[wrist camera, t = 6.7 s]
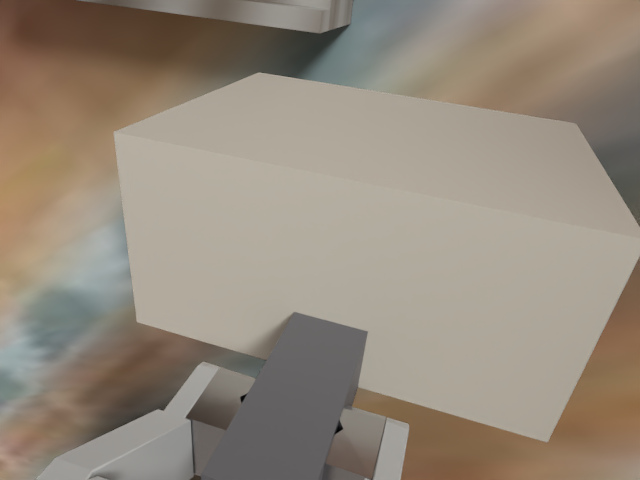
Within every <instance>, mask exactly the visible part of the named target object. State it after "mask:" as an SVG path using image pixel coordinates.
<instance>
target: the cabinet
mask: <svg viewBox="0 0 640 480" xmlns="http://www.w3.org/2000/svg"><path fill="white" fill-rule="evenodd" d="M114 140H115V148H116V156H117V164H118V172H119V181H120V189H121V197H122V205H123V213H124V221H125V229H126V237H127V245H128V254H129V262H130V270H131V278H132V286H133V294H134V302H135V310H136V318H137V322H138V323H141V324H145V325H148V326H151V327H155V328H158V329H162V330H165V331H169V332H172V333H175V334H179V335H182V336H186V337H189V338H192V339H196V340H199V341H203V342H206V343H209V344H213V345H216V346H220V347H223V348H226V349H230V350H233V351H237V352H240V353H244V354H247V355H250V356H254V357H257V358H261V359H264V360H267V361H266V362H265V364H264V366H263V367H262V369H261V371H260V373H259V374H258V376H257V378H256V380H255V381H254V383H253V385H252V387H251V388H250V390H249V392H248V394H247V395H246V397H245V399H244V400H243V402H242V404H241V406H240V407H239V409H238V411H237V413H236V414H235V416H234V418H233V420H232V421H231V423H230V425H229V426H228V428H227V430H226V432H225V433H224V435H223V437H222V439H221V440H220V442H219V444H218V446H217V447H216V449H215V451H214V453H213V454H212V456H211V458H210V459H209V461H208V463H207V465H206V466H205V468H204V470H203V472H202V473H201V480H322V476H323V469H324V463H325V460H326V457H327V454H328V451H329V448H330V445H331V442H332V439H333V436H334V435H335V434H337V429H338V423H339V418H340V415H341V412H342V409H343V407H344V405H347V406H351V407H352V404H353V401H354V398H355V394H356V391H357V388H358V387H359V388H363V389H366V390H370V391H373V392H376V393H380V394H383V395H387V396H390V397H394V398H397V399H400V400H404V401H407V402H411V403H414V404H417V405H421V406H424V407H428V408H431V409H434V410H438V411H441V412H445V413H448V414H452V415H455V416H458V417H462V418H465V419H469V420H472V421H475V422H479V423H482V424H486V425H489V426H492V427H496V428H499V429H503V430H506V431H509V432H513V433H516V434H520V435H523V436H527V437H530V438H533V439H537V440H540V441H544V442H547V443H548V441H549V439H550V437H551V434H552V432H553V430H554V428H555V426H556V424H557V422H558V420H559V418H560V416H561V414H562V412H563V410H564V408H565V406H566V404H567V402H568V400H569V398H570V396H571V394H572V392H573V390H574V388H575V386H576V384H577V382H578V380H579V378H580V376H581V374H582V372H583V370H584V368H585V366H586V364H587V362H588V360H589V358H590V356H591V354H592V352H593V350H594V348H595V346H596V344H597V342H598V340H599V338H600V336H601V334H602V332H603V329H604V327H605V325H606V323H607V321H608V319H609V317H610V315H611V313H612V311H613V309H614V307H615V305H616V303H617V301H618V299H619V297H620V295H621V293H622V291H623V289H624V287H625V285H626V283H627V281H628V279H629V277H630V275H631V273H632V271H633V269H634V267H635V265H636V263H637V261H638V259H639V257H640V226H639V225H638V223H637V222H636V220H635V218H634V217H633V215H632V214H631V212H630V210H629V209H628V207H627V205H626V204H625V202H624V201H623V199H622V197H621V196H620V194H619V192H618V191H617V189H616V188H615V186H614V184H613V183H612V181H611V179H610V178H609V176H608V175H607V173H606V171H605V170H604V168H603V166H602V165H601V163H600V162H599V160H598V158H597V157H596V155H595V153H594V152H593V150H592V149H591V147H590V145H589V144H588V142H587V140H586V139H585V137H584V136H583V134H582V132H581V131H580V129H579V128H578V126H577V124H576V123H571V122H565V121H558V120H552V119H546V118H540V117H533V116H527V115H521V114H515V113H509V112H502V111H496V110H490V109H484V108H477V107H471V106H465V105H459V104H453V103H446V102H440V101H434V100H428V99H421V98H415V97H409V96H403V95H397V94H390V93H384V92H378V91H372V90H365V89H359V88H353V87H347V86H341V85H334V84H328V83H322V82H316V81H310V80H303V79H297V78H291V77H285V76H278V75H272V74H266V73H260V72H258V73H256V74H253V75H251V76H249V77H246V78H244V79H241V80H239V81H236V82H234V83H232V84H229V85H227V86H224V87H222V88H219V89H217V90H214V91H212V92H210V93H207V94H205V95H202V96H200V97H197V98H195V99H193V100H190V101H188V102H185V103H183V104H180V105H178V106H176V107H173V108H171V109H168V110H166V111H163V112H161V113H159V114H156V115H154V116H151V117H149V118H146V119H144V120H142V121H139V122H137V123H134V124H132V125H129V126H127V127H125V128H122V129H120V130H117V131H115V132H114Z"/></svg>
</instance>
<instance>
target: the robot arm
mask: <svg viewBox="0 0 640 480" xmlns="http://www.w3.org/2000/svg"><path fill="white" fill-rule="evenodd" d="M255 380H256V378H253V377H250V376H247V375H244V374H241V373H238V372H235V371H232V370H229V369H226V368H223V367H219V366H216V365H213V364H210V363H207V362H204V361H203V362H202V363H200V364H199V365H198V366H197V367H196V368H195V369H194V371H193V372H192V373H191V375H190V376H189V377H188V379H187V380H186V381H185V383H184V384H183V385H182V387H181V388H180V389H179V391H178V392H177V393H176V395H175V396H174V397H173V399H172V400H171V401H170V402H169V404H168V405H167V406H166V408H165V409H164V410H163V411H162V410H159V409H157V410H155V411H153V412H150V413H148V414H146V415H144V416H142V417H140V418H138V419H136V420H134V421H132V422H129V423H127V424H125V425H123V426H121V427H119V428H117V429H115V430H113V431H110V432H108V433H106V434H104V435H102V436H100V437H98V438H96V439H94V440H91V441H89V442H87V443H85V444H83V445H81V446H79V447H77V448H75V449H72V450H70V451H68V452H66V453H64V454H62V455H60V456H58V457H56V458H55V459H54V460H53V461H52V462H51V463H50V464H49V465H48V466H47V467H46V468H45V470H44V471H43V472H42V473H41V474H40V475H39V476H38V477H37V478H36V479H35V480H190V479H191V478H193V477H194V474H195V475H198V476H201V473H202V472H203V470H204V468H205V466H206V465H207V463H208V461H209V459H210V458H211V456H212V454H213V453H214V451H215V449H216V447H217V446H218V444H219V442H220V440H221V439H222V437H223V435H224V433H225V432H226V430H227V428H228V426H229V425H230V423H231V421H232V420H233V418H234V416H235V414H236V413H237V411H238V409H239V407H240V406H241V404H242V402H243V400H244V399H245V397H246V395H247V394H248V392H249V390H250V388H251V387H252V385H253V383H254V381H255ZM385 421H386V422H385ZM383 430H384V431H383ZM408 433H409V424H408V423H404V422H401V421H398V420H394V419H391V418H388V417H387V419H386V417H385V416H382V415H378V414H375V413H371V412H368V411H364V410H361V409H358V408H354V407H351V406H347V405H344V407H343V409H342V412H341V415H340V418H339V423H338V429H337V434H335V435H334V436H333V439H332V442H331V445H330V448H329V451H328V454H327V457H326V460H325V463H324V469H323V476H322V480H401V474H402V468H403V462H404V456H405V450H406V445H407V439H408ZM380 443H381V444H380Z"/></svg>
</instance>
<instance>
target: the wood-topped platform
mask: <svg viewBox="0 0 640 480" xmlns="http://www.w3.org/2000/svg"><path fill="white" fill-rule="evenodd" d="M78 1H86V2H93V3H100V4H108V5H115V6H122V7H130V8H137V9H144V10H152V11H159V12H166V13H174V14H181V15H188V16H196V17H203V18H210V19H218V20H225V21H233V22H240V23H247V24H255V25H262V26H269V27H277V28H284V29H291V30H299V31H306V32H313V33H323V32H326V31H329V30H332V29H336V28H339V27H342V26H345V25H348V24H350V23H351V15H352V6H353V0H78Z"/></svg>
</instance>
